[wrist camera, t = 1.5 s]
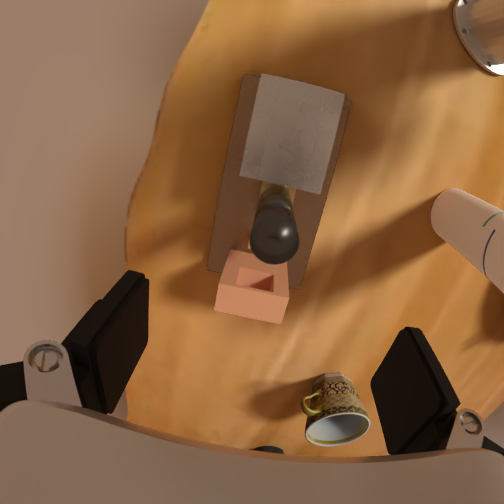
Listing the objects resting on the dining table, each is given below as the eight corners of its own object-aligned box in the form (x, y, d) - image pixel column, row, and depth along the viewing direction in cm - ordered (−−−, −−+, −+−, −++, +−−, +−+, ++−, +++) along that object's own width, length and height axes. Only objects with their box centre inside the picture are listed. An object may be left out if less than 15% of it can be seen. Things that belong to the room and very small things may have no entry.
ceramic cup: (370, 380, 46) (382, 425, 37) (327, 408, 49) (332, 451, 40) (323, 346, 43) (331, 396, 34) (277, 379, 47) (276, 427, 37)
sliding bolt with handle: (283, 86, 25) (290, 58, 14) (315, 94, 25) (342, 72, 14) (250, 237, 31) (236, 300, 20) (278, 243, 31) (279, 310, 20)
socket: (230, 249, 37) (218, 283, 29) (286, 261, 37) (289, 298, 29) (226, 272, 38) (214, 310, 30) (280, 284, 38) (280, 324, 30)
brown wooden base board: (244, 75, 29) (233, 57, 21) (349, 100, 29) (375, 92, 21) (208, 266, 39) (190, 306, 30) (298, 285, 39) (303, 330, 31)
